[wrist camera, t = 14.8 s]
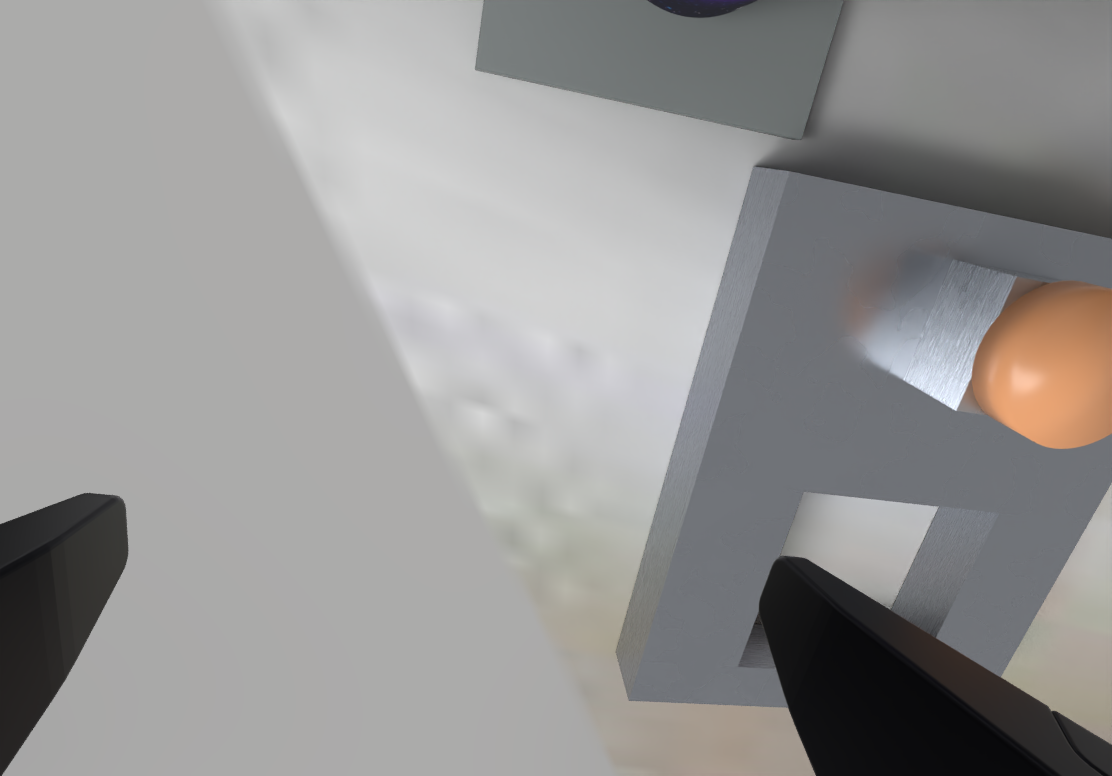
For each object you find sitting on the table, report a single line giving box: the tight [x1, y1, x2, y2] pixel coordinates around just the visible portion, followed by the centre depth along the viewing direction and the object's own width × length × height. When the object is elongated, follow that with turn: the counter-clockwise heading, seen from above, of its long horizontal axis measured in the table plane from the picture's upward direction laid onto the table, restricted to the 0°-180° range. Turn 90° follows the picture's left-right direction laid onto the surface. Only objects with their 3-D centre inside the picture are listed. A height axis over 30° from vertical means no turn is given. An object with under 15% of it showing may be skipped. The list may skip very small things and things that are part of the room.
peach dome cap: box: [972, 280, 1112, 449], centre depth 18 cm, size 4×4×3 cm
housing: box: [616, 167, 1112, 708], centre depth 23 cm, size 16×20×5 cm
